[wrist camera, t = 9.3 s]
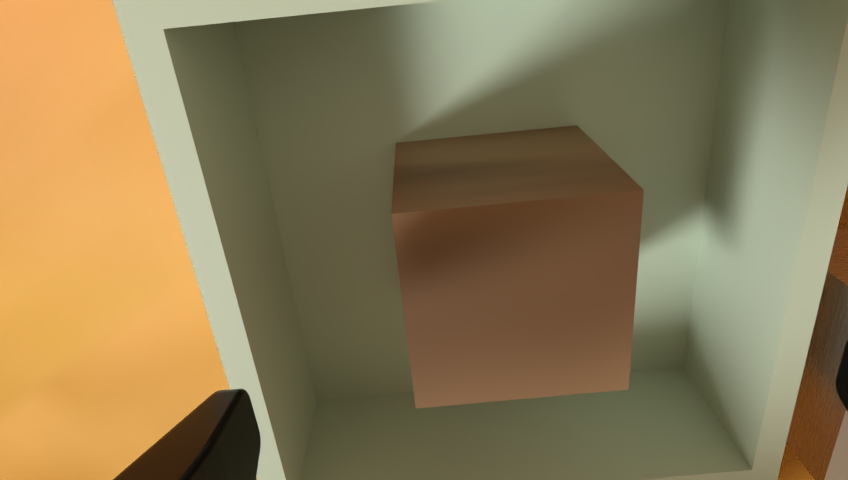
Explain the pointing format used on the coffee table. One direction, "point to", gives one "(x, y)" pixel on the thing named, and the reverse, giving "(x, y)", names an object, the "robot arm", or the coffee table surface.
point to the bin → (485, 114)
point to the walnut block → (515, 265)
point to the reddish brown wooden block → (825, 379)
